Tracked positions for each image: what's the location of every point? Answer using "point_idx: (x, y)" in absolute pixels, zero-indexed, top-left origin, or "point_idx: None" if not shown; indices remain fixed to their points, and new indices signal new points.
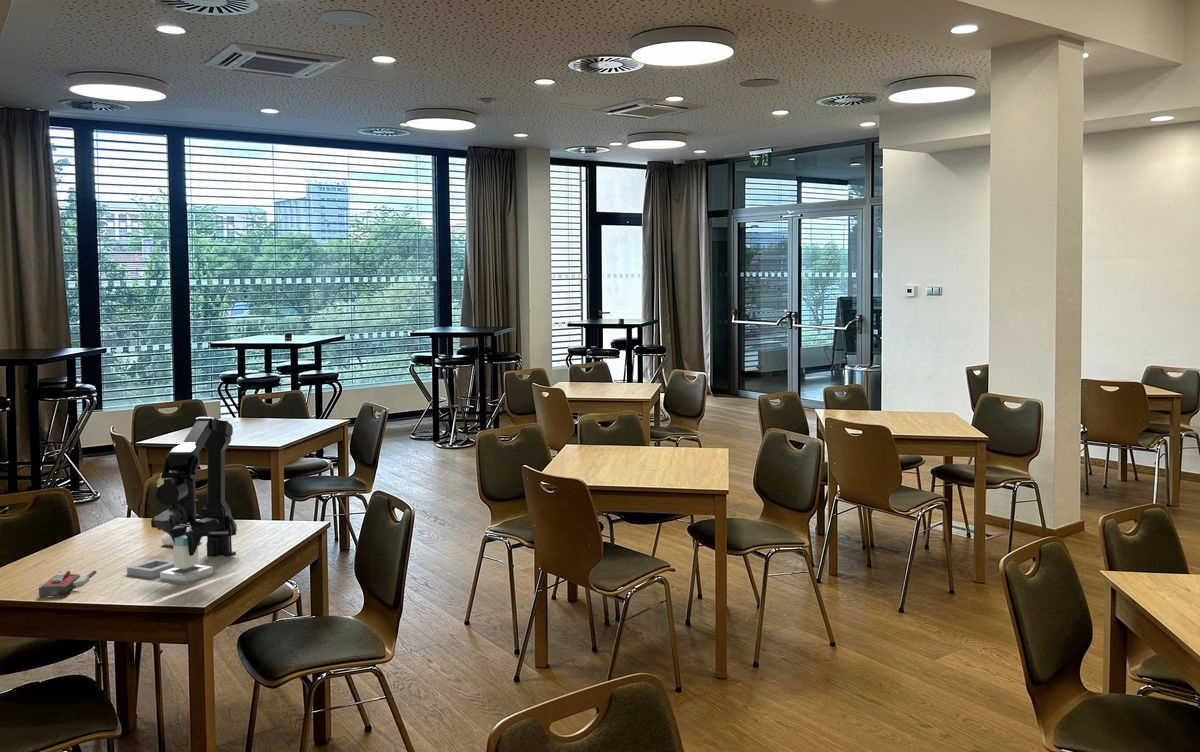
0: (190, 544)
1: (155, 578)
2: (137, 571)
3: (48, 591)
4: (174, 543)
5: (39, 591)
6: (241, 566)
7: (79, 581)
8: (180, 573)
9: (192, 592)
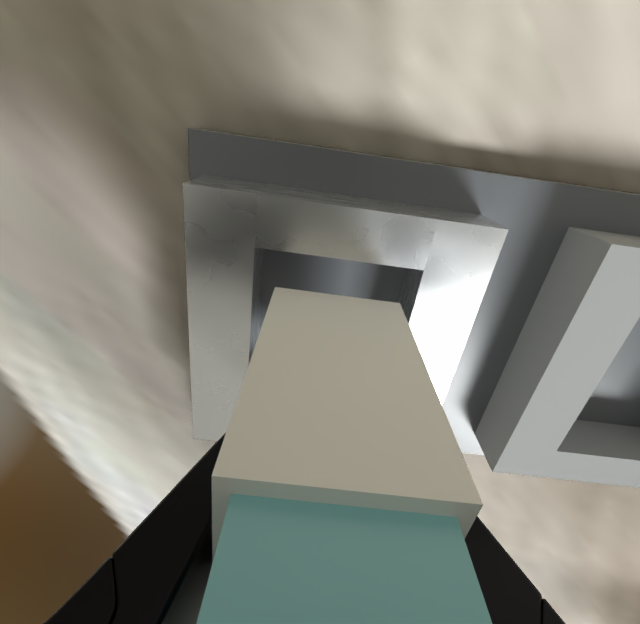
0: (119, 564)
1: (537, 231)
2: None
3: None
4: (523, 580)
5: None
6: None
7: None
8: (292, 244)
9: (23, 30)
